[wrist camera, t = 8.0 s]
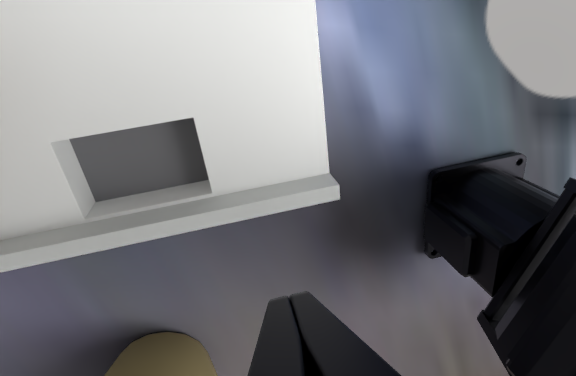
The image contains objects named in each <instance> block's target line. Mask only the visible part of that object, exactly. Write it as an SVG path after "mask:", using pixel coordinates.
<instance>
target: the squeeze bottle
mask: <svg viewBox="0 0 576 376" xmlns="http://www.w3.org/2000/svg"><path fill="white" fill-rule="evenodd" d="M104 376H217V373H216V371H215V369H214V366H213V364H212V361H211V359H210V357H209V354H208V352H207V351H206V349H205V348H204V347H203V346H202V344H201V343H200V342H199V341H197V340H195V339H193V338H191V337H189V336H188V335H186V334H179V333H172V332H163V333H156V334H149V335H146V336H144V337H142V338H140V339H138V340H136V341H133V342H132V343H131V344H130V345H129V346H128V347H127V348H126V349H124V350H123V351H122V352H121V353H120V355H119V356H118V358H117V359H116V360H115V362H114V363H113V364H112V366H111V367H110V369H109V370H108V371H107V373H106V374H105V375H104Z"/></svg>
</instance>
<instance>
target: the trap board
mask: <svg viewBox="0 0 576 376" xmlns="http://www.w3.org/2000/svg"><path fill="white" fill-rule="evenodd" d="M339 199H340V189H339V184H338V183H337V181H336V180H335V179H334V178H333V177H332V175H331V174H330V173H329V161H328V149H327V137H326V125H325V113H324V101H323V89H322V76H321V64H320V52H319V40H318V28H317V16H316V4H315V0H0V273H1V272H5V271H10V270H15V269H19V268H24V267H29V266H33V265H38V264H42V263H47V262H52V261H56V260H61V259H66V258H70V257H75V256H80V255H84V254H89V253H94V252H98V251H103V250H107V249H112V248H117V247H121V246H126V245H131V244H135V243H140V242H145V241H149V240H154V239H158V238H163V237H168V236H172V235H177V234H182V233H186V232H191V231H196V230H200V229H205V228H209V227H214V226H219V225H223V224H228V223H233V222H237V221H242V220H247V219H251V218H256V217H261V216H265V215H270V214H274V213H279V212H284V211H288V210H293V209H298V208H302V207H307V206H312V205H316V204H321V203H325V202H330V201H335V200H339Z"/></svg>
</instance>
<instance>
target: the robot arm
mask: <svg viewBox="0 0 576 376" xmlns="http://www.w3.org/2000/svg"><path fill="white" fill-rule="evenodd" d="M517 160H518V161H517ZM516 161H517V162H516ZM525 166H526V156H525V155H523V154H521V153H511V154H507V155H502V156H497V157H493V158H488V159H483V160H478V161H474V162H469V163H464V164H459V165H455V166H450V167H445V168H441V169H436V170H434V171H432V172H431V173H430V175H429V177H428V191H427V205H426V207H425V224H424V239H425V248H424V252H425V254H426V255H427V256H428V257H429V258H431V259H433V258H438V257H443V258H444V259H445V260H446V261H447V262H449V263H450V264H451V265H452V266H453V267H454V268H455V269H456V270H457V271H458V272H459V273H460V274H461V275H462V276H464V277H468V276H470V277H471V278H472V279H474V280H475V281H476V282H477V283H478V284H479V285H480V286H481V287H482V288H483V289H484V290H485V291H486V292H487V293H488V294H489V295H490V296H491V297H493V298H492V299H491V301H490V302H489V304H488V305H487V307H486V308H485V310H482V311H481V312H480V314H479V315H478V317H477V320H478V321H479V323H480V325H481V327H482V328H483V330H484V332H485V334H486V335H487V337H488V339H489V341H490V342H491V344H492V346H493V347H494V349H495V351H496V353H497V354H498V356H499V358H500V360H501V361H502V363H503V365H504V367H505V368H506V370H507V372H508V374H509V375H510V376H576V179H573V178H569V179H568V181H567V183H566V184H565V186H564V188H565V190H564V191H563V193H562V194H561V196H558V195H556V194H554V193H552V192H550V191H548V190H546V189H544V188H542V187H540V186H538V185H535V184H533V183H531V182H529V181H527V180H525V179H523V177H524V171H525ZM438 176H439V178H438V179H437V180H436V178H437V177H438ZM248 376H401V375H400V374H399V373H398V372H397V371H396V370H395V369H393V368H392V367H391V366H390V365H389V364H388V363H387V362H386V361H385V360H383V359H382V358H381V357H380V356H379V355H378V354H377V353H376V352H375V351H373V350H372V349H371V348H370V347H369V346H368V345H367V344H366V343H365V342H363V341H362V340H361V339H360V338H359V337H358V336H357V335H356V334H355V333H354V332H352V331H351V330H350V329H349V328H348V327H347V326H346V325H345V324H344V323H342V322H341V321H340V320H339V319H338V318H337V317H336V316H335V315H334V314H332V313H331V312H330V311H329V310H328V309H327V308H326V307H325V306H324V305H322V304H321V303H320V302H319V301H318V300H317V299H316V298H315V297H314V296H313V295H311V294H310V293H309V292H307V291H305V292H300V293H296V294H292V295H290V297H289V298H288V297H287V296H283V297H279V298H275V299H271V300H270V301H269V303H268V306H267V309H266V313H265V316H264V320H263V323H262V327H261V330H260V334H259V337H258V341H257V344H256V348H255V352H254V355H253V359H252V362H251V366H250V369H249V373H248Z"/></svg>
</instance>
